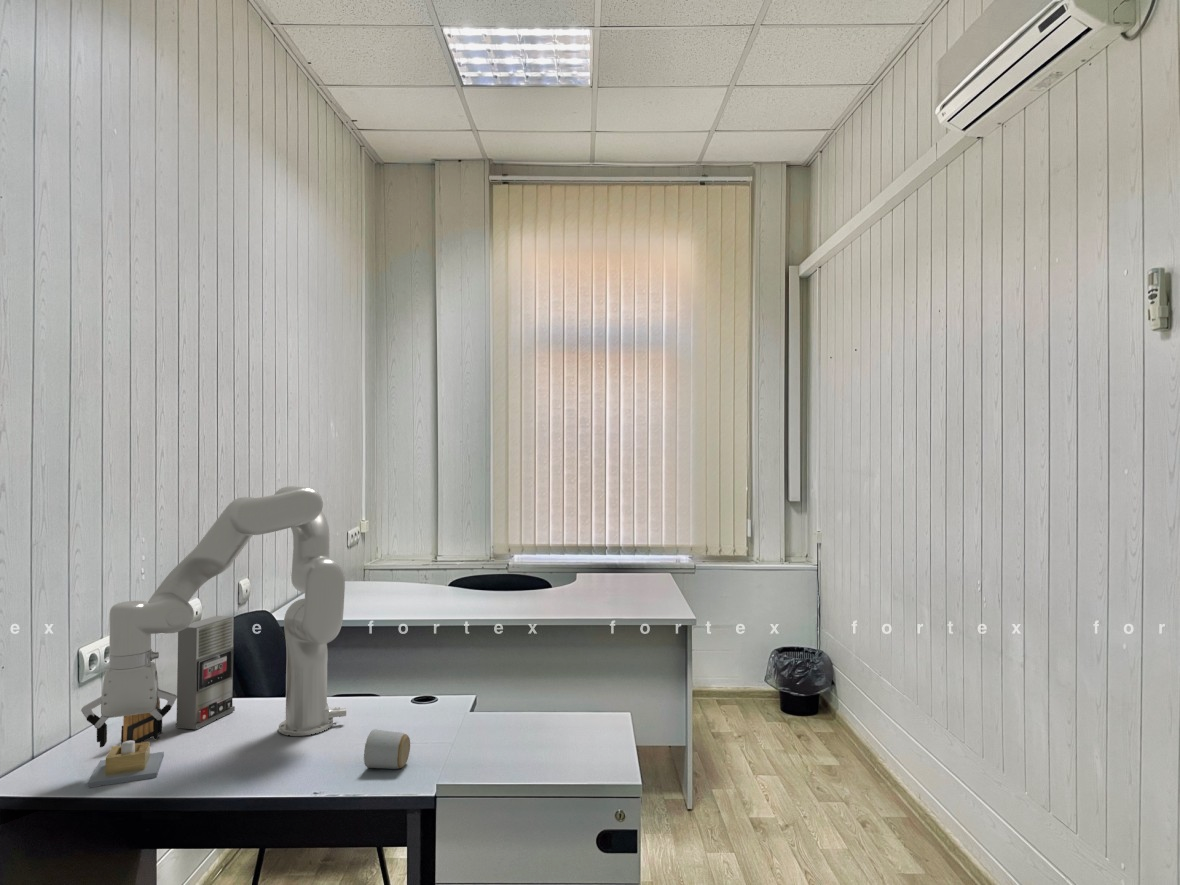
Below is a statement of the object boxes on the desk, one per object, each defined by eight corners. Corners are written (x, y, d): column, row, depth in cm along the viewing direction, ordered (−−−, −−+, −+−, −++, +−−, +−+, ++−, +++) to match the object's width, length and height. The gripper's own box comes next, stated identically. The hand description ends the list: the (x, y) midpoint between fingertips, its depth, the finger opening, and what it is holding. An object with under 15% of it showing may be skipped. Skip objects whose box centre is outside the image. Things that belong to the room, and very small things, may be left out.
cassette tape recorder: (197, 730, 178) (198, 628, 179) (175, 728, 179) (177, 626, 180) (235, 711, 191) (236, 616, 192) (215, 710, 193) (216, 615, 193)
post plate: (163, 756, 162) (164, 729, 162) (156, 777, 151) (156, 748, 152) (100, 765, 157) (100, 737, 158) (87, 787, 146) (88, 757, 147)
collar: (149, 757, 159) (149, 741, 159) (144, 769, 153) (145, 753, 153) (111, 762, 156) (112, 746, 156) (105, 775, 150) (105, 758, 150)
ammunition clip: (127, 749, 166) (128, 696, 167) (120, 748, 167) (121, 696, 167) (161, 732, 177) (162, 682, 177) (155, 731, 177) (155, 682, 177)
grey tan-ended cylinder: (400, 774, 153) (401, 737, 153) (362, 773, 153) (363, 736, 154) (416, 755, 163) (416, 720, 164) (380, 754, 164) (381, 719, 164)
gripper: (178, 651, 162) (178, 728, 162) (86, 660, 155) (85, 741, 155) (174, 659, 155) (174, 740, 155) (77, 670, 148) (77, 754, 148)
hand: (130, 740), depth 155 cm, fingers open, 9 cm apart
